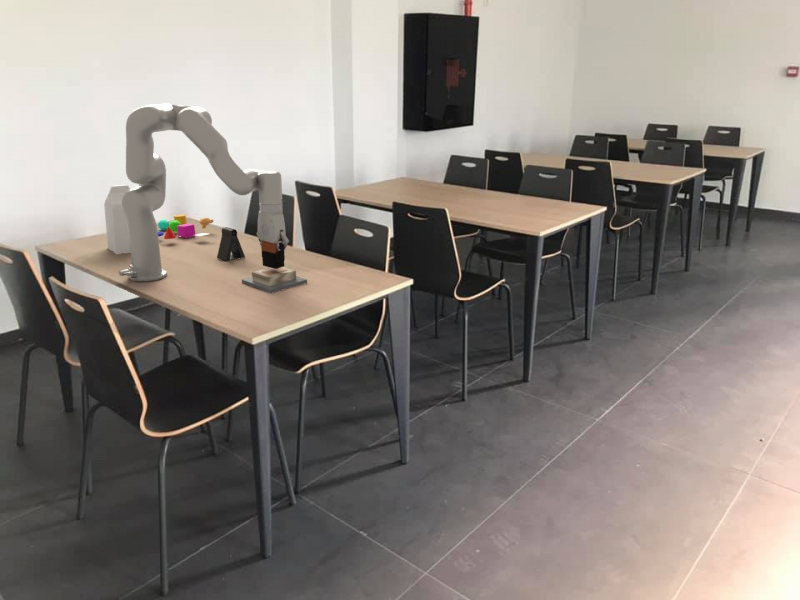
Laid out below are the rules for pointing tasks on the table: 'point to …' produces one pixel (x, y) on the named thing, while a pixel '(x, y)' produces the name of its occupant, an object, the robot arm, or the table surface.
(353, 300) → the table surface
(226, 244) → the phone stand
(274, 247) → the battery
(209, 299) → the table surface
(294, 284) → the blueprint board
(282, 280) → the plinth
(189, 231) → the shape set
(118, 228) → the milk
